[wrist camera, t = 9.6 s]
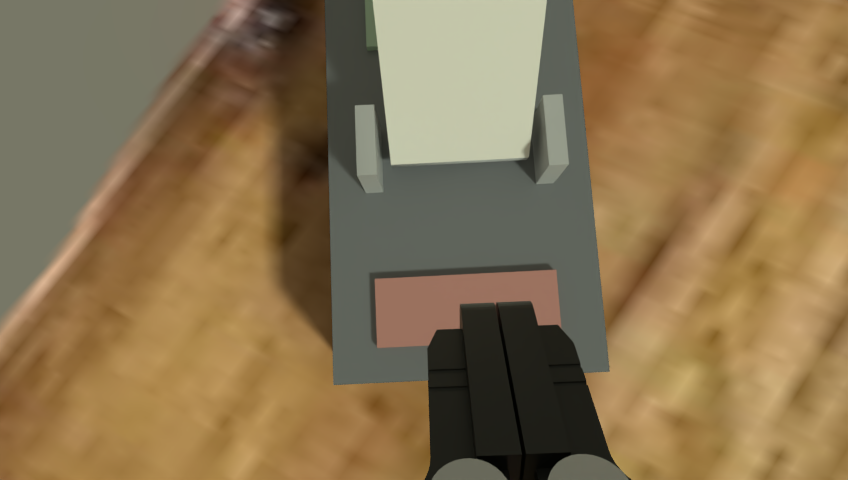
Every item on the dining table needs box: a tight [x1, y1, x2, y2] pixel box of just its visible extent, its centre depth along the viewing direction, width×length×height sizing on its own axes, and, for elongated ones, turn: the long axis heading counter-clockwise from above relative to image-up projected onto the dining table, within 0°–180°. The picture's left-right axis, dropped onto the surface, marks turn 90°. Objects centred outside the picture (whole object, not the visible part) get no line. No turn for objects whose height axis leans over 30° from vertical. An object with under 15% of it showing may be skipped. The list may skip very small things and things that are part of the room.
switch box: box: [325, 0, 610, 385], centre depth 27 cm, size 20×12×9 cm, turn 3°
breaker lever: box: [373, 0, 547, 167], centre depth 20 cm, size 2×6×14 cm
